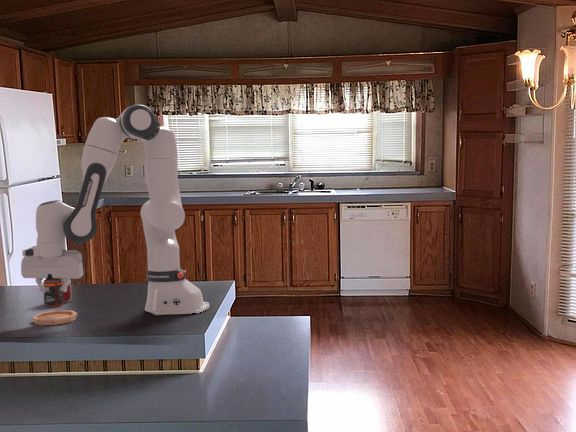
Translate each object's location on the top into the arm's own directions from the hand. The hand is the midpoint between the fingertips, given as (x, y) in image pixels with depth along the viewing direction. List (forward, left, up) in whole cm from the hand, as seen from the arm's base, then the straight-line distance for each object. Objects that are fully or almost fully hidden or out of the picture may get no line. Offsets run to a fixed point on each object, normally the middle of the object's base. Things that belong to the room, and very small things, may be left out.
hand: (53, 291), depth 201 cm
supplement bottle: (0, 0, -5) cm, 5 cm away
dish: (0, 0, -10) cm, 10 cm away
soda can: (+12, -28, -10) cm, 32 cm away
